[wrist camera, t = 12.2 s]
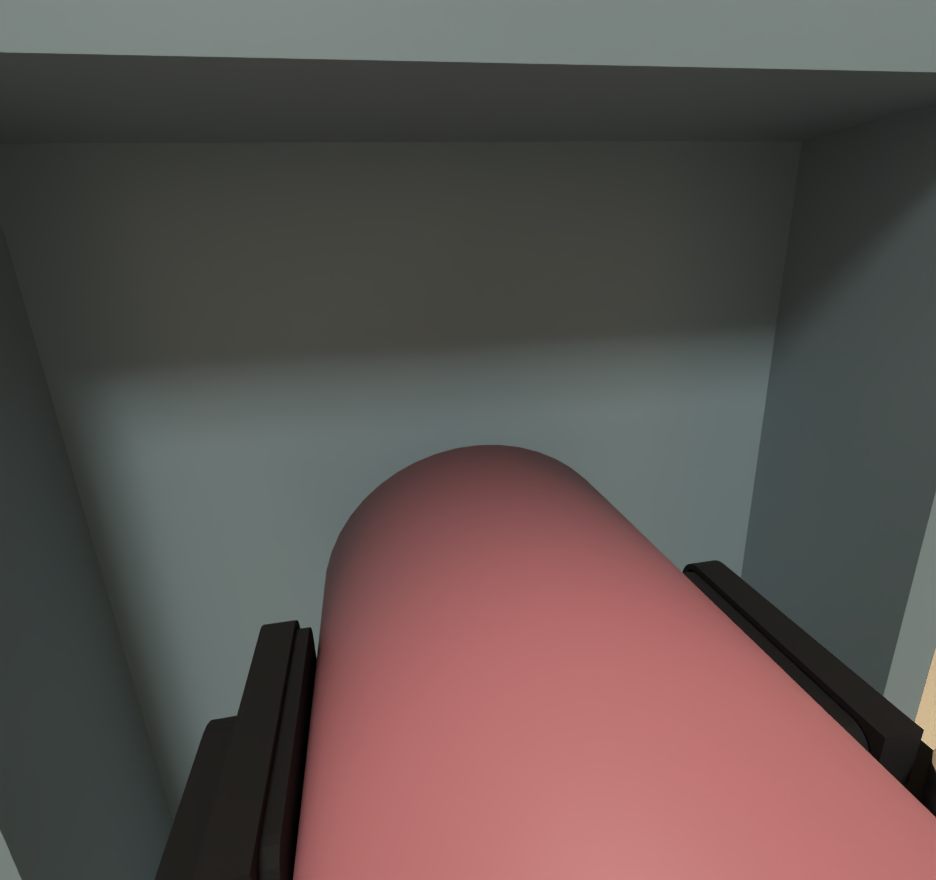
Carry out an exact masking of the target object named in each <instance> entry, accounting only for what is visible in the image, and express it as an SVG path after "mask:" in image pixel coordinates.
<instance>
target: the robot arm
mask: <svg viewBox="0 0 936 880" xmlns="http://www.w3.org/2000/svg"><path fill="white" fill-rule="evenodd" d="M683 574H684V575H685V576H686V577H687V578H688V579H689V580H691V581H692V582H693V583H694V584H695V585H696V586H697V587H698V588H699V589H700V590H701V591H702V592H703V593H704V594H705V595H706V596H707V597H708V598H709V599H710V600H711V601H712V602H713V603H714V604H715V605H716V606H717V607H718V608H720V609H721V610H722V611H723V612H724V613H725V614H726V615H727V616H728V617H729V618H730V619H731V620H732V621H733V622H734V623H735V624H736V625H737V626H738V627H739V628H740V629H741V630H742V631H743V632H744V633H745V634H746V635H747V636H749V637H750V638H751V639H752V640H753V641H754V642H755V643H756V644H757V645H758V646H759V647H760V648H761V649H762V650H763V651H764V652H765V653H766V654H767V655H768V656H769V657H770V658H771V659H772V660H773V661H774V662H775V663H776V664H778V665H779V666H780V667H781V668H782V669H783V670H784V671H785V672H786V673H787V674H788V675H789V676H790V677H791V678H792V679H793V680H794V681H795V682H796V683H797V684H798V685H799V686H800V687H801V688H802V689H803V690H804V691H805V692H807V693H808V694H809V695H810V696H811V697H812V698H813V699H814V700H815V701H816V702H817V703H818V704H819V705H820V706H821V707H822V708H823V709H824V710H825V711H826V712H827V713H828V714H829V715H830V716H831V717H832V718H833V719H834V720H836V721H837V722H838V723H839V724H840V725H841V726H842V727H843V728H844V729H845V730H846V731H847V732H848V733H849V734H850V735H851V736H852V737H853V738H854V739H855V740H856V741H857V742H858V743H859V744H860V745H861V746H862V747H863V748H865V749H866V750H867V751H868V752H869V753H870V754H871V755H872V756H873V757H874V758H875V759H876V760H877V761H878V762H879V763H880V764H881V765H882V766H883V767H884V768H885V769H886V770H887V771H888V772H889V773H890V774H891V775H893V776H894V777H895V778H896V779H897V780H898V781H899V782H900V783H901V784H902V785H903V786H904V787H905V788H906V789H907V790H908V791H909V792H910V793H911V794H912V795H913V796H914V797H915V798H916V799H917V800H918V801H919V802H920V803H922V804H923V805H924V806H925V807H926V808H927V809H928V810H929V811H930V812H931V813H932V814H933V815H934V816H935V817H936V749H935V750H934V751H933V750H932V749H931V748H930V747H928V746H927V745H926V744H925V743H924V742H923V741H921V738H922V734H923V731H924V730H923V729H922V728H921V727H920V726H918V725H917V724H916V723H915V722H914V721H912V720H911V719H910V718H909V717H908V716H906V715H905V714H904V713H903V712H902V711H900V710H899V709H898V708H897V707H896V706H894V705H893V704H892V703H891V702H889V701H888V700H887V699H886V698H885V697H883V696H882V695H881V694H880V693H879V692H877V691H876V690H875V689H874V688H873V687H871V686H870V685H869V684H868V683H867V682H865V681H864V680H863V679H862V678H861V677H859V676H858V675H857V674H856V673H855V672H853V671H852V670H851V669H850V668H849V667H847V666H846V665H845V664H844V663H843V662H841V661H840V660H839V659H838V658H837V657H835V656H834V655H833V654H832V653H831V652H829V651H828V650H827V649H826V648H825V647H823V646H822V645H821V644H820V643H818V642H817V641H816V640H815V639H814V638H812V637H811V636H810V635H809V634H808V633H806V632H805V631H804V630H803V629H802V628H800V627H799V626H798V625H797V624H796V623H794V622H793V621H792V620H791V619H790V618H788V617H787V616H786V615H785V614H784V613H782V612H781V611H780V610H779V609H778V608H776V607H775V606H774V605H773V604H772V603H770V602H769V601H768V600H767V599H766V598H764V597H763V596H762V595H761V594H760V593H758V592H757V591H756V590H755V589H753V588H752V587H751V586H750V585H749V584H747V583H746V582H745V581H744V580H743V579H741V578H740V577H739V576H738V575H737V574H735V573H734V572H733V571H732V570H731V569H729V568H728V567H727V566H726V565H725V564H723V563H722V562H720V561H717V560H713V561H706V562H699V563H692V564H688V565H686V566H685V567H684V569H683ZM316 661H317V657H316V651H315V644H314V638H313V632H312V628H311V627H307V628H300V625H299V622H298V620H293V621H286V622H279V623H272V624H265V625H262V627H261V629H260V632H259V636H258V640H257V643H256V647H255V651H254V655H253V658H252V662H251V666H250V669H249V673H248V677H247V680H246V684H245V688H244V691H243V695H242V699H241V702H240V706H239V710H238V713H237V716H232V717H226V718H220V719H214V720H211V721H210V722H209V723H208V724H207V726H206V728H205V730H204V733H203V735H202V738H201V741H200V744H199V747H198V750H197V753H196V756H195V759H194V762H193V765H192V768H191V771H190V774H189V777H188V780H187V783H186V786H185V789H184V792H183V795H182V798H181V801H180V804H179V807H178V810H177V813H176V816H175V819H174V822H173V825H172V828H171V831H170V834H169V837H168V840H167V843H166V846H165V849H164V852H163V855H162V858H161V861H160V864H159V867H158V870H157V873H156V876H155V879H154V880H293V873H294V864H295V855H296V845H297V836H298V827H299V818H300V809H301V799H302V790H303V781H304V772H305V763H306V753H307V744H308V735H309V726H310V717H311V707H312V698H313V689H314V680H315V670H316Z"/></svg>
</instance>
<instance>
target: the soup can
mask: <svg viewBox="0 0 936 880" xmlns="http://www.w3.org/2000/svg"><path fill="white" fill-rule="evenodd" d="M293 880H936V817H935V816H934V815H933V814H932V813H931V812H930V811H929V810H928V809H927V808H926V807H925V806H924V805H923V804H922V803H920V802H919V801H918V800H917V799H916V798H915V797H914V796H913V795H912V794H911V793H910V792H909V791H908V790H907V789H906V788H905V787H904V786H903V785H902V784H901V783H900V782H899V781H898V780H897V779H896V778H895V777H894V776H893V775H891V774H890V773H889V772H888V771H887V770H886V769H885V768H884V767H883V766H882V765H881V764H880V763H879V762H878V761H877V760H876V759H875V758H874V757H873V756H872V755H871V754H870V753H869V752H868V751H867V750H866V749H865V748H863V747H862V746H861V745H860V744H859V743H858V742H857V741H856V740H855V739H854V738H853V737H852V736H851V735H850V734H849V733H848V732H847V731H846V730H845V729H844V728H843V727H842V726H841V725H840V724H839V723H838V722H837V721H836V720H834V719H833V718H832V717H831V716H830V715H829V714H828V713H827V712H826V711H825V710H824V709H823V708H822V707H821V706H820V705H819V704H818V703H817V702H816V701H815V700H814V699H813V698H812V697H811V696H810V695H809V694H808V693H807V692H805V691H804V690H803V689H802V688H801V687H800V686H799V685H798V684H797V683H796V682H795V681H794V680H793V679H792V678H791V677H790V676H789V675H788V674H787V673H786V672H785V671H784V670H783V669H782V668H781V667H780V666H779V665H778V664H776V663H775V662H774V661H773V660H772V659H771V658H770V657H769V656H768V655H767V654H766V653H765V652H764V651H763V650H762V649H761V648H760V647H759V646H758V645H757V644H756V643H755V642H754V641H753V640H752V639H751V638H750V637H749V636H747V635H746V634H745V633H744V632H743V631H742V630H741V629H740V628H739V627H738V626H737V625H736V624H735V623H734V622H733V621H732V620H731V619H730V618H729V617H728V616H727V615H726V614H725V613H724V612H723V611H722V610H721V609H720V608H718V607H717V606H716V605H715V604H714V603H713V602H712V601H711V600H710V599H709V598H708V597H707V596H706V595H705V594H704V593H703V592H702V591H701V590H700V589H699V588H698V587H697V586H696V585H695V584H694V583H693V582H692V581H691V580H689V579H688V578H687V577H686V576H685V575H684V574H683V573H682V572H681V571H680V570H679V569H678V568H677V567H676V566H675V565H674V564H673V563H672V562H671V561H670V560H669V559H668V558H667V557H666V556H665V555H664V554H663V553H662V552H660V551H659V550H658V549H657V548H656V547H655V546H654V545H653V544H652V543H651V542H650V541H649V540H648V539H647V538H646V537H645V536H644V535H643V534H642V533H641V532H640V531H639V530H638V529H637V528H636V527H635V526H634V525H633V524H631V523H630V522H629V521H628V520H627V519H626V518H625V517H624V516H623V515H622V514H621V513H620V512H619V511H618V510H617V509H616V508H615V507H614V506H613V505H612V504H611V503H610V502H609V501H608V500H607V499H606V498H605V497H604V496H602V495H601V494H600V493H599V492H598V491H597V490H596V489H595V488H594V487H593V486H592V485H591V484H590V483H589V482H588V481H587V480H586V479H585V478H583V477H582V476H581V475H580V474H578V473H577V472H576V471H575V470H573V469H572V468H570V467H569V466H567V465H565V464H564V463H562V462H560V461H559V460H557V459H555V458H552V457H550V456H547V455H545V454H542V453H540V452H537V451H533V450H529V449H525V448H521V447H514V446H505V445H475V446H468V447H461V448H456V449H452V450H448V451H444V452H441V453H437V454H434V455H432V456H429V457H427V458H424V459H422V460H419V461H417V462H415V463H413V464H411V465H409V466H408V467H406V468H404V469H402V470H400V471H399V472H397V473H395V474H394V475H393V476H391V477H390V478H389V479H387V480H386V481H384V482H383V483H382V484H380V485H379V486H378V487H377V488H376V489H375V490H374V491H373V492H372V493H371V494H369V495H368V496H367V497H366V498H365V499H364V500H363V501H362V503H361V504H360V505H359V506H358V507H357V509H356V510H355V511H354V512H353V514H352V515H351V516H350V517H349V519H348V521H347V522H346V524H345V526H344V527H343V529H342V531H341V532H340V534H339V536H338V538H337V541H336V543H335V545H334V547H333V550H332V552H331V556H330V559H329V563H328V567H327V570H326V579H325V587H324V596H323V606H322V615H321V624H320V633H319V642H318V652H317V661H316V670H315V680H314V689H313V698H312V707H311V717H310V726H309V735H308V744H307V753H306V763H305V772H304V781H303V790H302V799H301V809H300V818H299V827H298V836H297V845H296V855H295V864H294V873H293Z"/></svg>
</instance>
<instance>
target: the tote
mask: <svg viewBox="0 0 936 880" xmlns="http://www.w3.org/2000/svg"><path fill="white" fill-rule="evenodd" d="M475 445H505V446H514V447H521V448H525V449H529V450H533V451H537V452H540V453H542V454H545V455H547V456H550V457H552V458H555V459H557V460H559V461H560V462H562V463H564V464H565V465H567V466H569V467H570V468H572V469H573V470H575V471H576V472H577V473H578V474H580V475H581V476H582V477H583V478H585V479H586V480H587V481H588V482H589V483H590V484H591V485H592V486H593V487H594V488H595V489H596V490H597V491H598V492H599V493H600V494H601V495H602V496H604V497H605V498H606V499H607V500H608V501H609V502H610V503H611V504H612V505H613V506H614V507H615V508H616V509H617V510H618V511H619V512H620V513H621V514H622V515H623V516H624V517H625V518H626V519H627V520H628V521H629V522H630V523H631V524H633V525H634V526H635V527H636V528H637V529H638V530H639V531H640V532H641V533H642V534H643V535H644V536H645V537H646V538H647V539H648V540H649V541H650V542H651V543H652V544H653V545H654V546H655V547H656V548H657V549H658V550H659V551H660V552H662V553H663V554H664V555H665V556H666V557H667V558H668V559H669V560H670V561H671V562H672V563H673V564H674V565H675V566H676V567H677V568H678V569H679V570H680V571H681V572H682V573H683V569H684V567H685V566H686V565H688V564H692V563H699V562H706V561H713V560H717V561H720V562H722V563H723V564H725V565H726V566H727V567H728V568H729V569H731V570H732V571H733V572H734V573H735V574H737V575H738V576H739V577H740V578H741V579H743V580H744V581H745V582H746V583H747V584H749V585H750V586H751V587H752V588H753V589H755V590H756V591H757V592H758V593H760V594H761V595H762V596H763V597H764V598H766V599H767V600H768V601H769V602H770V603H772V604H773V605H774V606H775V607H776V608H778V609H779V610H780V611H781V612H782V613H784V614H785V615H786V616H787V617H788V618H790V619H791V620H792V621H793V622H794V623H796V624H797V625H798V626H799V627H800V628H802V629H803V630H804V631H805V632H806V633H808V634H809V635H810V636H811V637H812V638H814V639H815V640H816V641H817V642H818V643H820V644H821V645H822V646H823V647H825V648H826V649H827V650H828V651H829V652H831V653H832V654H833V655H834V656H835V657H837V658H838V659H839V660H840V661H841V662H843V663H844V664H845V665H846V666H847V667H849V668H850V669H851V670H852V671H853V672H855V673H856V674H857V675H858V676H859V677H861V678H862V679H863V680H864V681H865V682H867V683H868V684H869V685H870V686H871V687H873V688H874V689H875V690H876V691H877V692H879V693H880V694H881V695H882V696H883V697H885V698H886V699H887V700H888V701H889V702H891V703H892V704H893V705H894V706H896V707H897V708H898V709H899V710H900V711H902V712H903V713H904V714H905V715H906V716H908V717H909V718H910V719H911V720H912V721H914V722H915V718H916V715H917V711H918V708H919V704H920V701H921V697H922V693H923V690H924V686H925V683H926V679H927V676H928V672H929V669H930V665H931V662H932V658H933V655H934V651H935V648H936V0H0V880H154V879H155V876H156V873H157V870H158V867H159V864H160V861H161V858H162V855H163V852H164V849H165V846H166V843H167V840H168V837H169V834H170V831H171V828H172V825H173V822H174V819H175V816H176V813H177V810H178V807H179V804H180V801H181V798H182V795H183V792H184V789H185V786H186V783H187V780H188V777H189V774H190V771H191V768H192V765H193V762H194V759H195V756H196V753H197V750H198V747H199V744H200V741H201V738H202V735H203V733H204V730H205V728H206V726H207V724H208V723H209V722H210V721H211V720H214V719H220V718H226V717H232V716H237V713H238V710H239V706H240V702H241V699H242V695H243V691H244V688H245V684H246V680H247V677H248V673H249V669H250V666H251V662H252V658H253V655H254V651H255V647H256V643H257V640H258V636H259V632H260V629H261V627H262V625H265V624H272V623H279V622H286V621H293V620H298V622H299V625H300V628H307V627H311V628H312V632H313V638H314V644H315V651H316V657H317V652H318V642H319V633H320V624H321V615H322V606H323V596H324V587H325V579H326V570H327V567H328V563H329V559H330V556H331V552H332V550H333V547H334V545H335V543H336V541H337V538H338V536H339V534H340V532H341V531H342V529H343V527H344V526H345V524H346V522H347V521H348V519H349V517H350V516H351V515H352V514H353V512H354V511H355V510H356V509H357V507H358V506H359V505H360V504H361V503H362V501H363V500H364V499H365V498H366V497H367V496H368V495H369V494H371V493H372V492H373V491H374V490H375V489H376V488H377V487H378V486H379V485H380V484H382V483H383V482H384V481H386V480H387V479H389V478H390V477H391V476H393V475H394V474H395V473H397V472H399V471H400V470H402V469H404V468H406V467H408V466H409V465H411V464H413V463H415V462H417V461H419V460H422V459H424V458H427V457H429V456H432V455H434V454H437V453H441V452H444V451H448V450H452V449H456V448H461V447H468V446H475Z"/></svg>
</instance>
